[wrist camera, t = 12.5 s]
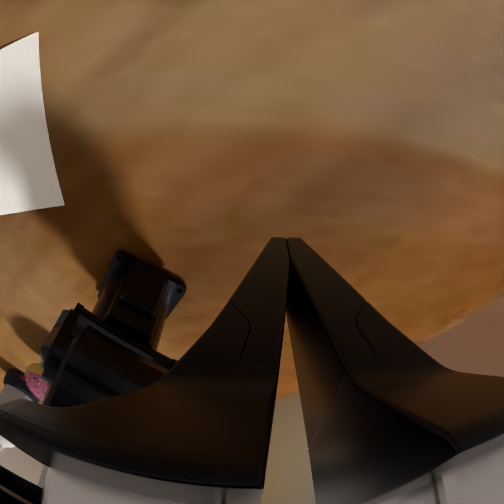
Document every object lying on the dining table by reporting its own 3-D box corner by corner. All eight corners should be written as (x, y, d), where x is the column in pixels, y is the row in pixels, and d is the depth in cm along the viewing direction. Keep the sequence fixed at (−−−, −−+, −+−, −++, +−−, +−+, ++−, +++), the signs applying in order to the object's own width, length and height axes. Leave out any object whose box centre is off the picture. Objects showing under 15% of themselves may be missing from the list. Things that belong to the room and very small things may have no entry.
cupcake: (84, 384, 37) (62, 453, 27) (36, 357, 34) (8, 423, 24) (95, 363, 33) (68, 445, 23) (39, 331, 30) (2, 409, 20)
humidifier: (33, 376, 38) (-8, 496, 18) (48, 398, 43) (16, 505, 23) (1, 362, 38) (-41, 472, 17) (18, 385, 42) (-17, 485, 22)
